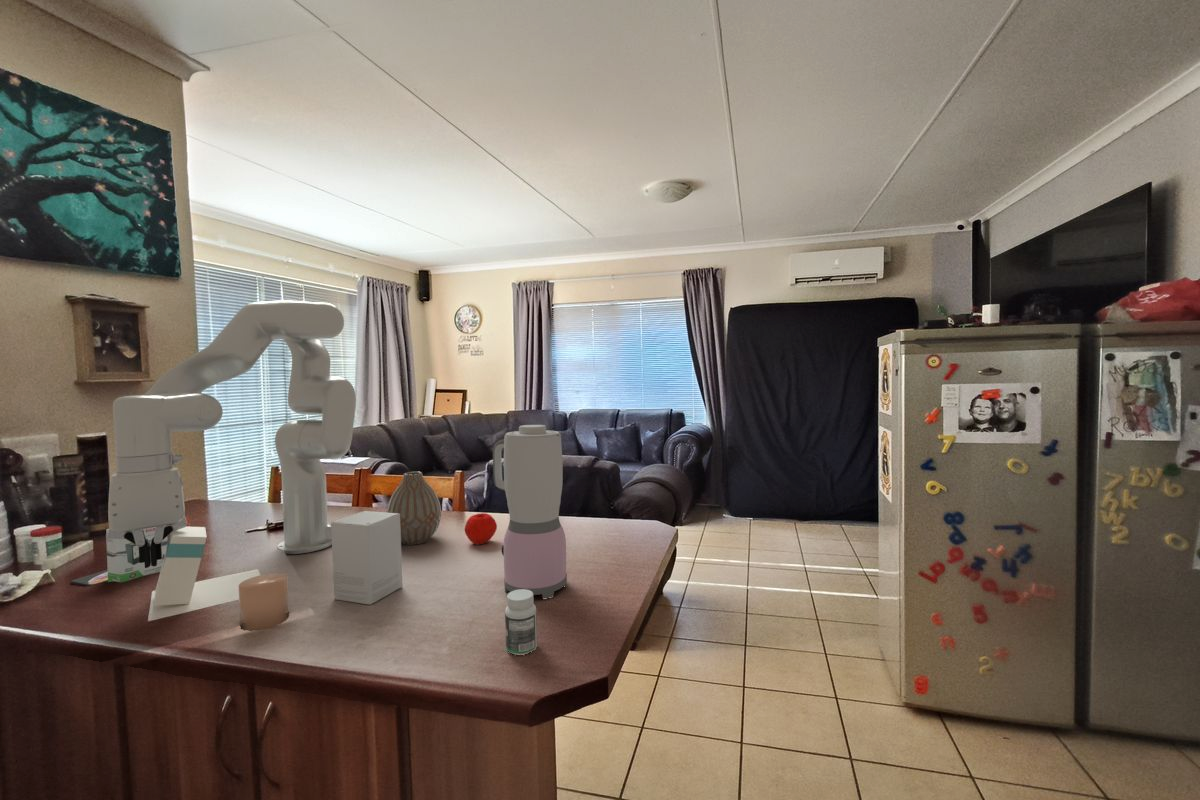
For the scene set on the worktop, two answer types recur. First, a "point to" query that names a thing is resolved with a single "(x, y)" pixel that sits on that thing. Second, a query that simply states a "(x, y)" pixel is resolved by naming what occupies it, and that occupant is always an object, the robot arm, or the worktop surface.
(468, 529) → the apple
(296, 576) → the worktop surface
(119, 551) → the ink box
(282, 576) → the beige pillar candle
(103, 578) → the smartphone
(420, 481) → the vase
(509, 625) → the pill bottle
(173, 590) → the carton
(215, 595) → the white flat sheet
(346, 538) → the supplement box
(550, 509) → the blender
